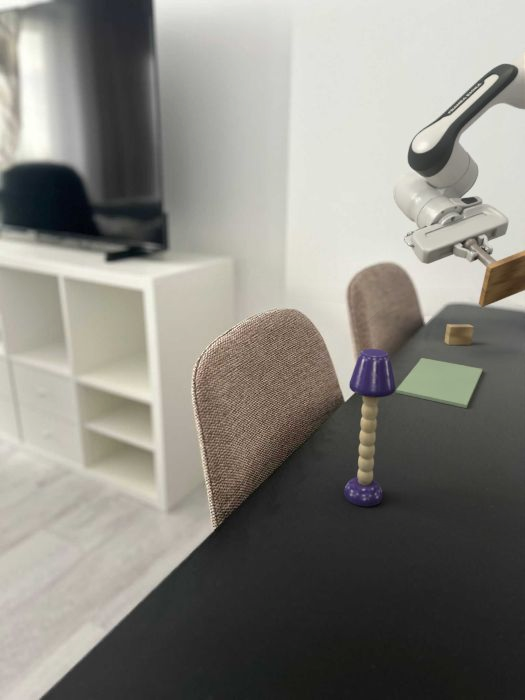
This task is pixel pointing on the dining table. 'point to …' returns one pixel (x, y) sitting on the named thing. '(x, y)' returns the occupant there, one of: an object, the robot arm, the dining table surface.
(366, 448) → the toy lamp
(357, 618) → the dining table surface
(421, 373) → the mat
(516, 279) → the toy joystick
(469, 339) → the block
